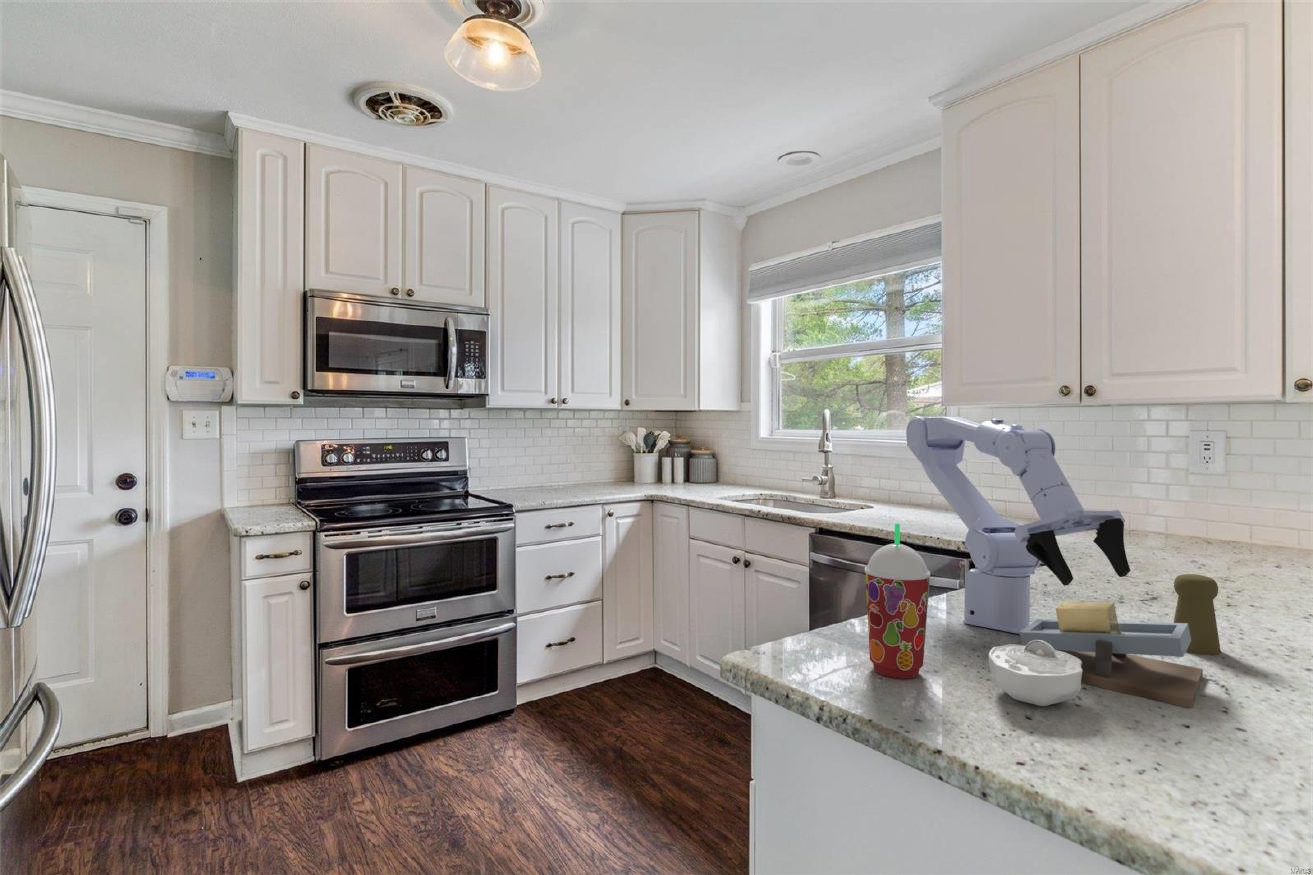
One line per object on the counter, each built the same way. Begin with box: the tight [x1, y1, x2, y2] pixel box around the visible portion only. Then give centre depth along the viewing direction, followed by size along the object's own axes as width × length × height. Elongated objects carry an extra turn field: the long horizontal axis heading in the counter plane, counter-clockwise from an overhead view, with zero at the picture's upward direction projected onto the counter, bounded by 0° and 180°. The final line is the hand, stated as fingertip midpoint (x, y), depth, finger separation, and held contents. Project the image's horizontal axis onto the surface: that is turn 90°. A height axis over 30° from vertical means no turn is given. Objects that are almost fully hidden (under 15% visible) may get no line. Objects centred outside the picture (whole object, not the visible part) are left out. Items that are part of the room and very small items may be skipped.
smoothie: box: [864, 523, 931, 680], centre depth 89 cm, size 8×8×20 cm
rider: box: [1055, 601, 1120, 634], centre depth 91 cm, size 6×5×4 cm
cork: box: [1173, 573, 1222, 656], centre depth 99 cm, size 6×6×11 cm
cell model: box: [988, 640, 1083, 707], centre depth 80 cm, size 10×12×7 cm
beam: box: [1019, 618, 1191, 658], centre depth 90 cm, size 18×9×2 cm, turn 46°
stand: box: [1057, 640, 1204, 709], centre depth 90 cm, size 20×14×5 cm
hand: (1096, 578), depth 92 cm, fingers open, 7 cm apart
